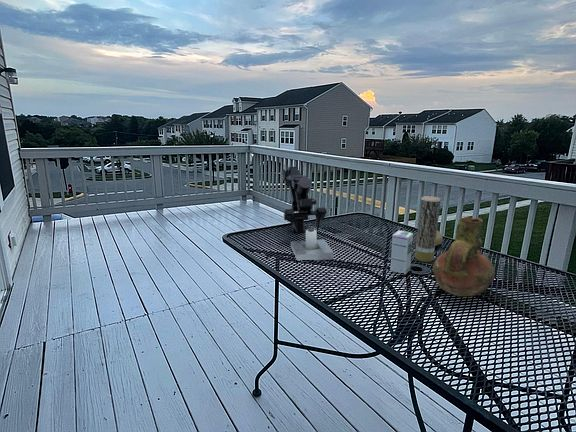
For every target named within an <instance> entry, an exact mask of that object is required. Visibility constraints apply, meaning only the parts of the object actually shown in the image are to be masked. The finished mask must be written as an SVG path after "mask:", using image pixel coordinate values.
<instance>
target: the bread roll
mask: <svg viewBox="0 0 576 432" xmlns="http://www.w3.org/2000/svg"><path fill="white" fill-rule="evenodd" d="M414 240H415V243H416V242H417V234H416V235H415V239H414ZM443 240H444V237H443V235H442V233H441V231H439V230H437V233H436V241H435V247H436V246H439V245H440V244H441V243H443Z"/></svg>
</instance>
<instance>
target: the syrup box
mask: <svg viewBox="0 0 576 432" xmlns="http://www.w3.org/2000/svg"><path fill="white" fill-rule="evenodd" d="M413 240H414V233H413V232H411V231H406V230H399V229H398V230H397V231H396V232H394V233H393V234H392V241H391V255H390V269H389V270H390V272H394V273H397V272H399V273H398V274H401V273H404V274H403V275H406V274H407V273H408V272H409V271H410V270H411V265H412V264H411V263H412V257H413V256H412V255H413V244H414V241H413Z"/></svg>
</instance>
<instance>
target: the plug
mask: <svg viewBox="0 0 576 432" xmlns="http://www.w3.org/2000/svg"><path fill="white" fill-rule="evenodd" d="M305 230H306V232H305V240H306V250H316V242H317V240H318V239H317V232H318V231H317V229H315V228H314V227H308V229H305Z"/></svg>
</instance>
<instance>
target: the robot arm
mask: <svg viewBox="0 0 576 432" xmlns="http://www.w3.org/2000/svg"><path fill="white" fill-rule="evenodd" d="M282 180H283V182H284V184H285V186H286V187H288V188H289V192H290V193H289V194H290V197H291V201H292V203H291V208H290V209H289V208H288V209H287V208H286V209H284V210H283V211H284V213H283V220H284V221H286V222H288V223H290V224H291V226H292V228H290V230H291V232H293V233H294V234H299V233H306V230H307V229H305V221H307V220H308V218H309V216H315V225H316V226H315V227H316V231H317V232H318V231H319V228H320V223H321V220H323V219H325V218H326V214H327V208H326V207H323V206H322V207H317V208H316V210H313V206H314V205H316V204H317V197H316V196H311V197H309V194H310V190H311V188H312V184H313V182H312V180H311V179H310V178H309V177H307V175H302V173H301V172H300V170H299V167H298V166H289V167H288V169H286V170H285V171H284V172H283V175H282Z"/></svg>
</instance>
